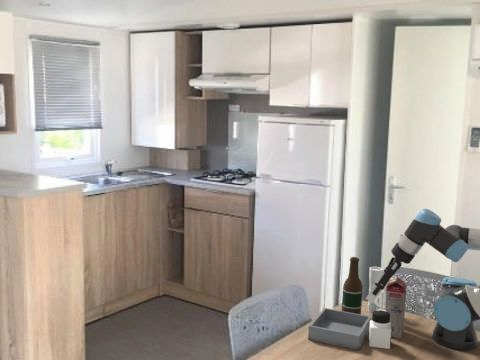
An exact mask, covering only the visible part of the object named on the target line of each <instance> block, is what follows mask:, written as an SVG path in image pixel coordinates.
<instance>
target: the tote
mask: <svg viewBox="0 0 480 360" xmlns="http://www.w3.org/2000/svg"><path fill="white" fill-rule="evenodd" d="M370 320H372V316H370V315H364V314H361V315H360V314H355V313H350V312H344V311H342V310H339V309H334V308H329V307H328V308H327V307H324V308H323V309H322V310H321V311H320V312H319V314H317V315H316V317H315V318H314V319H313V320H312V321H311V323H310V324H309V325H308V333H307V336H308V337H307V340H310V341H313V342H320V343H322V344H323V343H324V344H328V345H333V346H338V347H342V348H343V347H344V348H347V349H352V350H357V351H359V350H360V348H361V346H362V345H363V344H364V341H365V339H366V338H367V336H368V335H369V326H370Z"/></svg>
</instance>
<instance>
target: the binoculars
mask: <svg viewBox="0 0 480 360" xmlns="http://www.w3.org/2000/svg"><path fill="white" fill-rule="evenodd" d="M368 271H369V272H368V273H369V275H368V277H369V289H368V294H369V293H370V292H371V290H372V289H373V288H374V286H373V285H374V283H375V282H376V281H377V279H378V278H379V277H380V275H381V274H382V273H384V269H383V268H382V267H379V266H370V267H369V270H368ZM395 278H397V276H395V275H393V276H392V277H391V279H390V280H392V279H395ZM390 280H389V281H390ZM387 284H388V283H387ZM387 284H386V286H385V287H384V289H383V290H382V291H381V292H380V294H379V295H378V296H377V298H376V299H375V300H374V302H373V303H371V302H370V301H368V300H367V301H368V303H367V311H368V312H369V313H371V314H372V313H373V311H374V310H385V304H386V290H387Z"/></svg>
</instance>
